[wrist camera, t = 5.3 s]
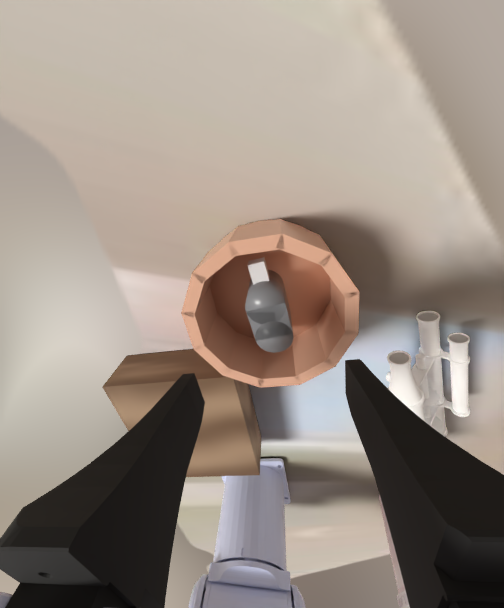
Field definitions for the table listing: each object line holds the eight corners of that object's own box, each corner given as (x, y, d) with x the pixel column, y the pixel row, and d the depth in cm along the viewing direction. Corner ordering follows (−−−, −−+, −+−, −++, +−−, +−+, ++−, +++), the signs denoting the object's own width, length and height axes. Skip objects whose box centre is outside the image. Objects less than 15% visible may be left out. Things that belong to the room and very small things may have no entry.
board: (261, 437, 29) (259, 475, 25) (169, 441, 30) (156, 477, 27) (239, 344, 23) (232, 376, 19) (126, 355, 24) (102, 387, 21)
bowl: (340, 337, 22) (357, 380, 17) (220, 349, 23) (207, 391, 19) (338, 207, 17) (361, 221, 13) (187, 232, 19) (160, 252, 14)
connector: (293, 322, 21) (296, 349, 18) (262, 329, 21) (260, 355, 18) (275, 249, 18) (275, 265, 15) (240, 258, 19) (233, 275, 16)
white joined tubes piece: (393, 304, 22) (473, 314, 18) (409, 411, 28) (472, 437, 24) (344, 364, 18) (430, 393, 14) (375, 473, 24) (442, 516, 20)
